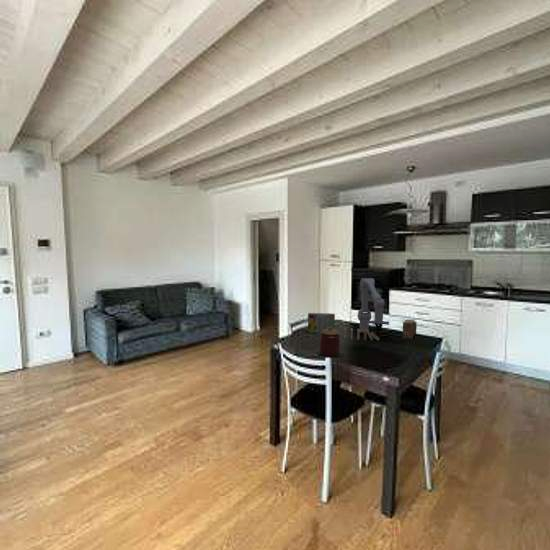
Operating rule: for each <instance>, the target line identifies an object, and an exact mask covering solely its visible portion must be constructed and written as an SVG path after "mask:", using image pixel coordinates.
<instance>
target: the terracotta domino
mask: <svg viewBox="0 0 550 550" xmlns="http://www.w3.org/2000/svg"><path fill="white" fill-rule="evenodd" d="M367 335H368V334H367V330H366V329H364V332H363V340H364V341H367Z"/></svg>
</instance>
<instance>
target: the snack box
mask: <svg viewBox="0 0 550 550" xmlns="http://www.w3.org/2000/svg"><path fill="white" fill-rule="evenodd" d="M335 321H336V315H335V313H329V312H328V313H326V312H325V313H322V312H321V313H319V312H318V313H317V312H308V313H307V332H308V333H317V334H318V333H320V334H322V332H321V331H322V330H324V329H328V328H329V327H332V329H335V330H336V327H335Z"/></svg>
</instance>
